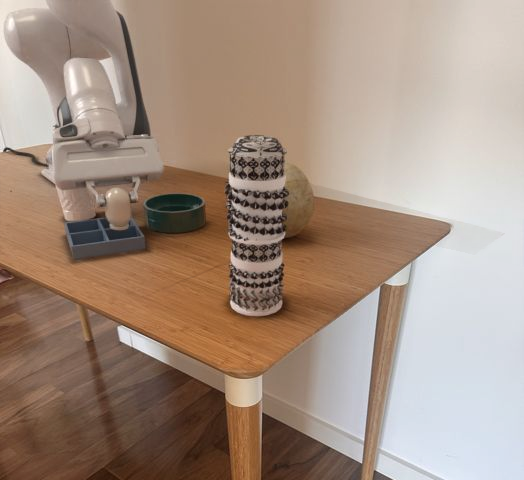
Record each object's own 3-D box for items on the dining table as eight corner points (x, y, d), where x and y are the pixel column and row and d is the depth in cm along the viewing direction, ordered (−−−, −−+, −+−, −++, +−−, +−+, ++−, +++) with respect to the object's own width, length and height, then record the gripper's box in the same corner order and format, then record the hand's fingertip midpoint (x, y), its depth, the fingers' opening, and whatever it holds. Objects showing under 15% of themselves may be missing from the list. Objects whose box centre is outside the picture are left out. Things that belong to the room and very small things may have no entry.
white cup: (54, 220, 111) (44, 174, 105) (77, 209, 117) (68, 165, 112) (84, 225, 109) (75, 178, 103) (105, 214, 115) (98, 169, 109)
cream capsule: (101, 225, 97) (97, 186, 93) (122, 221, 100) (120, 182, 96) (115, 233, 94) (112, 192, 90) (137, 228, 97) (135, 189, 93)
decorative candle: (218, 311, 79) (211, 142, 65) (241, 286, 86) (239, 129, 72) (272, 322, 76) (278, 149, 62) (291, 295, 83) (300, 135, 69)
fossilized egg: (242, 229, 108) (242, 157, 100) (296, 222, 112) (300, 152, 103) (264, 251, 98) (265, 173, 90) (322, 243, 102) (328, 167, 94)
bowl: (134, 225, 109) (130, 202, 107) (180, 210, 117) (178, 189, 115) (171, 240, 102) (169, 216, 99) (218, 224, 110) (217, 202, 108)
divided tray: (66, 236, 103) (63, 222, 102) (132, 228, 108) (130, 214, 106) (74, 261, 93) (71, 246, 91) (146, 251, 98) (144, 236, 96)
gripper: (153, 143, 102) (170, 205, 100) (47, 151, 95) (63, 218, 93) (156, 123, 96) (174, 189, 94) (43, 130, 89) (60, 201, 88)
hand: (118, 203), depth 94 cm, fingers closed on cream capsule, 5 cm apart
